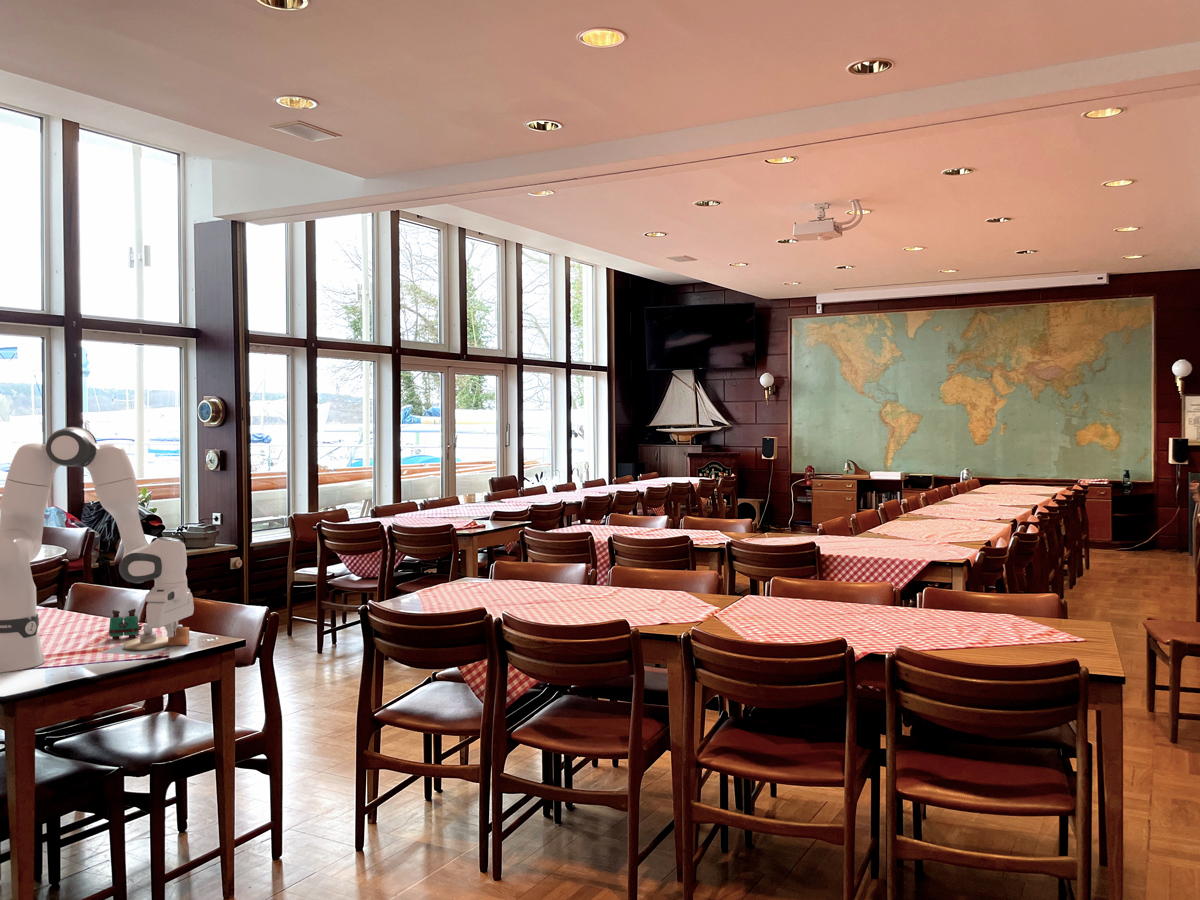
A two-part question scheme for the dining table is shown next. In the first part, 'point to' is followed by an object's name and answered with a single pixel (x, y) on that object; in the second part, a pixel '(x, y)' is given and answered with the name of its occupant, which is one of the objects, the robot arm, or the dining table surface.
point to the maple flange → (158, 640)
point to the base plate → (122, 650)
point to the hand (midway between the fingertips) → (171, 636)
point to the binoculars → (124, 625)
